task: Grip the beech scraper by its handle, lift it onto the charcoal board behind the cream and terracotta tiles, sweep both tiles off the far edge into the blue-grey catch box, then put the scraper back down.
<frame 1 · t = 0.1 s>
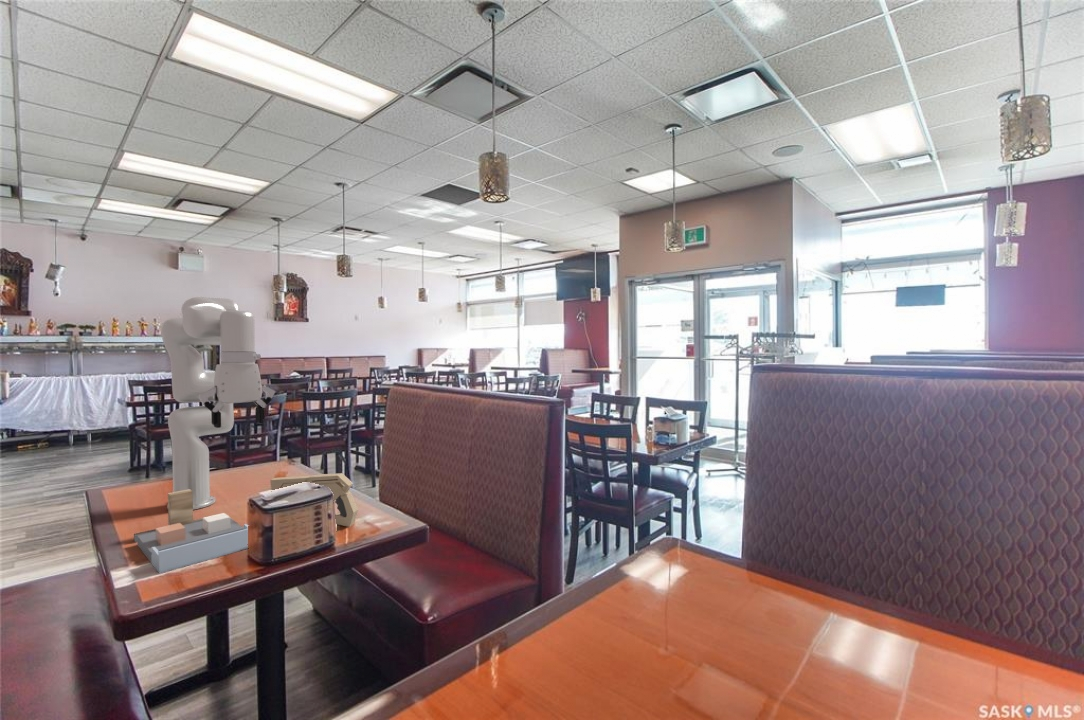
hand: (238, 424, 126), 31 cm above the table, tool pointing down, fingers open, 9 cm apart
gun: (314, 524, 141), on the table
scraper: (181, 531, 135), on the table
board: (192, 541, 128), on the table
tile terracotta: (170, 539, 122), point 2 cm above the table, touching board
tile cream: (216, 528, 130), point 2 cm above the table, touching board
catch box: (206, 554, 120), on the table
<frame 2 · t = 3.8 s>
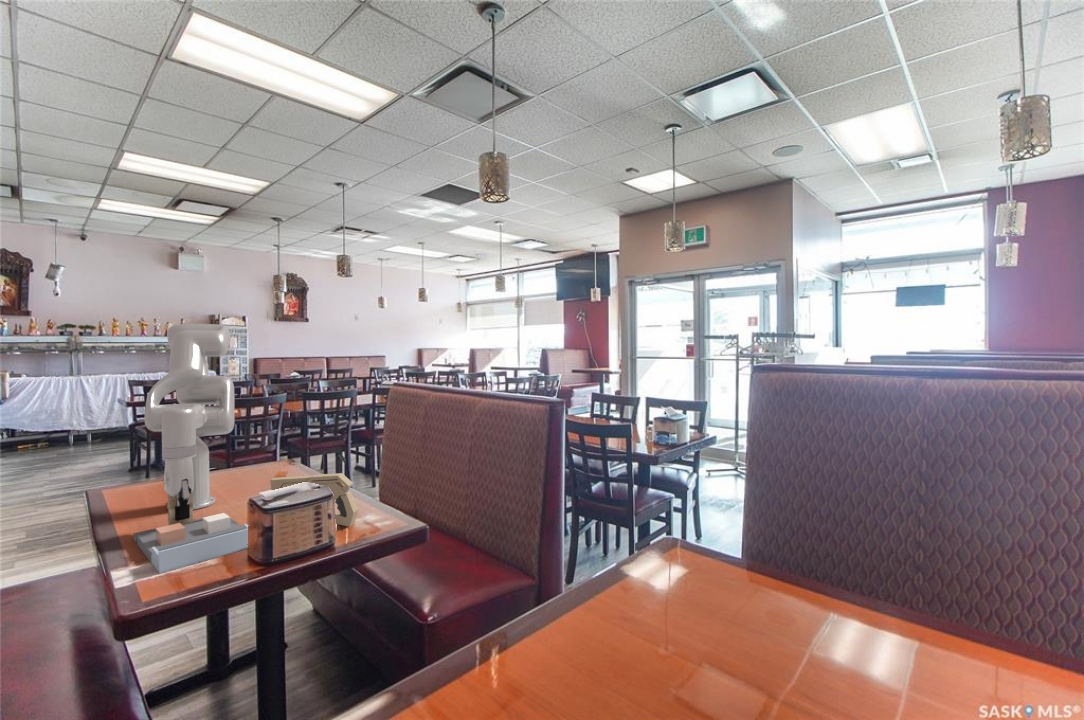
hand: (180, 517, 135), 4 cm above the table, tool pointing down, fingers closed on scraper, 3 cm apart
scraper: (180, 530, 135), on the table, touching gripper
everything else where it was.
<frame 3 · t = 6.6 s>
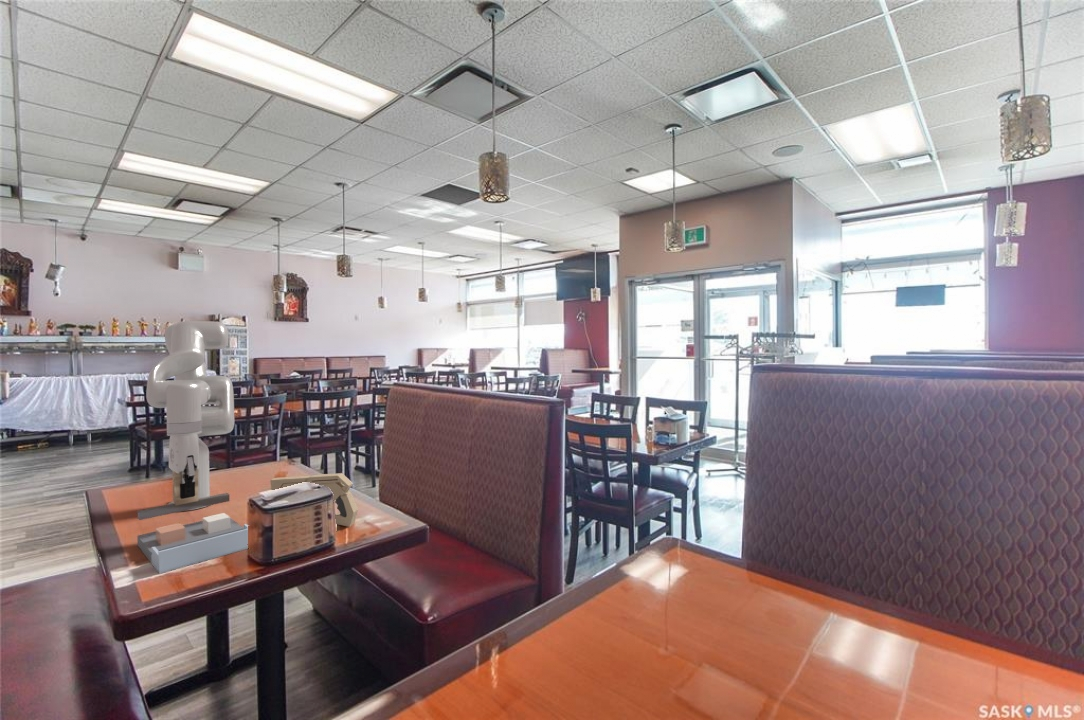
hand: (185, 495, 131), 11 cm above the table, tool pointing down, fingers closed on scraper, 3 cm apart
scraper: (185, 509, 131), point 7 cm above the table, touching gripper
everything else where it was.
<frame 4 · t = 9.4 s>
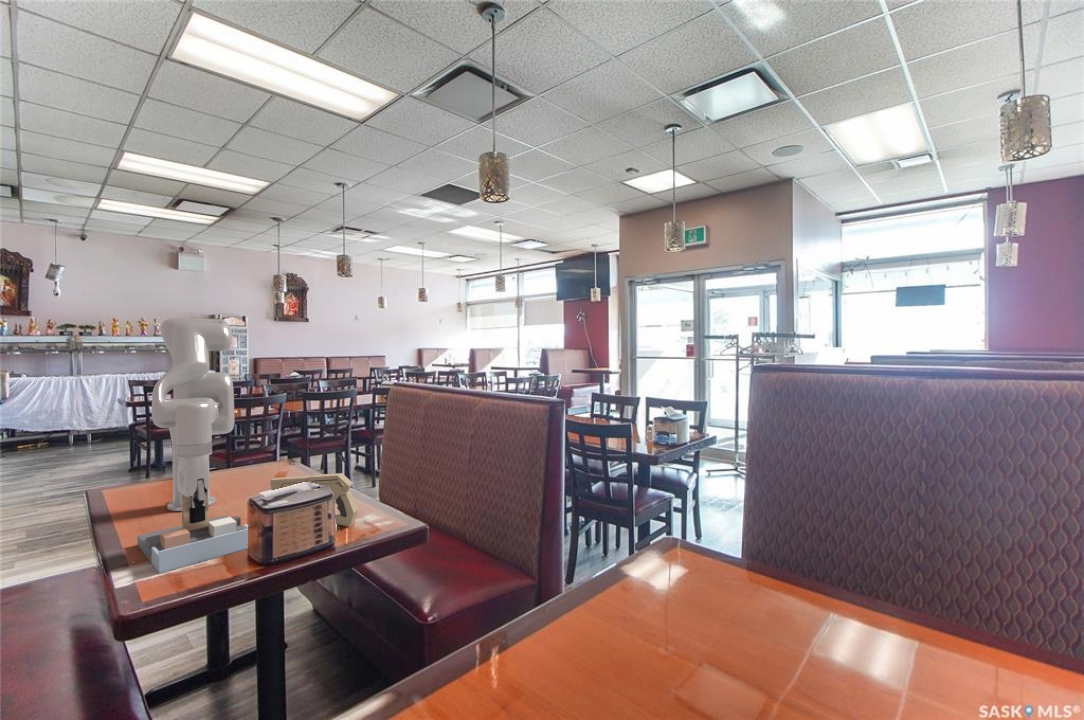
hand: (195, 519, 125), 7 cm above the table, tool pointing down, fingers closed on scraper, 3 cm apart
scraper: (195, 534, 125), point 3 cm above the table, touching gripper, tile cream, tile terracotta
tile terracotta: (175, 545, 119), point 3 cm above the table, touching scraper
tile cream: (222, 533, 127), point 3 cm above the table, touching board, scraper
everything else where it was.
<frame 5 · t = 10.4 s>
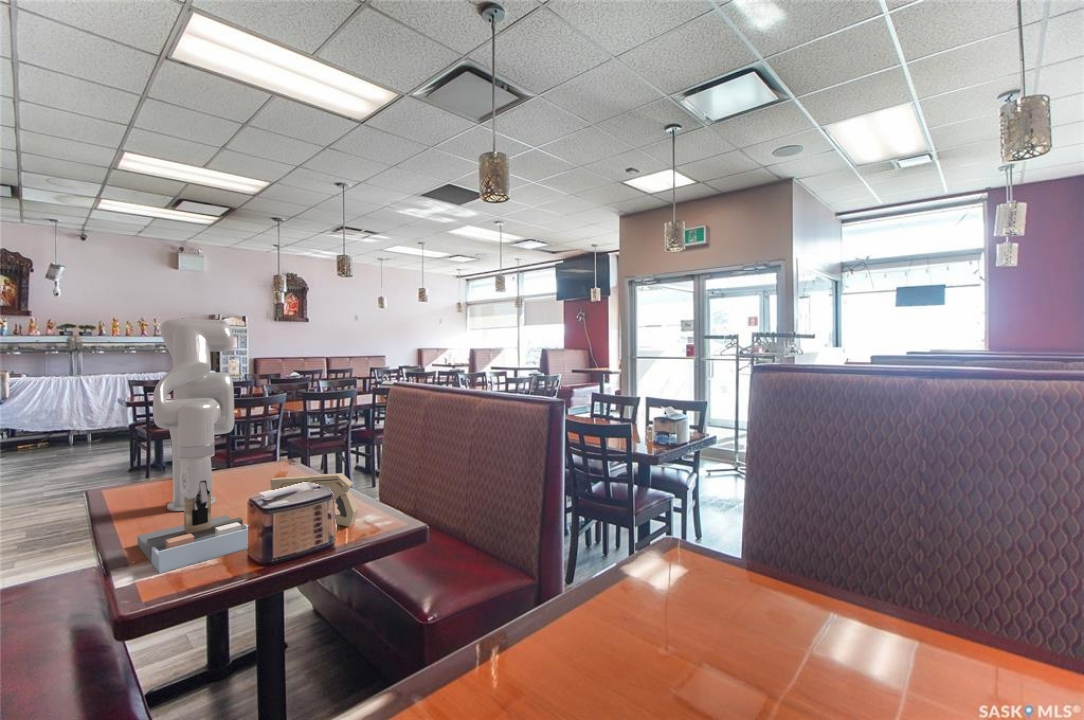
hand: (197, 521, 124), 7 cm above the table, tool pointing down, fingers closed on scraper, 3 cm apart
scraper: (197, 536, 124), point 3 cm above the table, touching board, gripper
tile terracotta: (178, 546, 117), point 3 cm above the table, tilted 90°, touching catch box
tile cream: (226, 534, 125), point 3 cm above the table, tilted 90°, touching catch box
everything else where it was.
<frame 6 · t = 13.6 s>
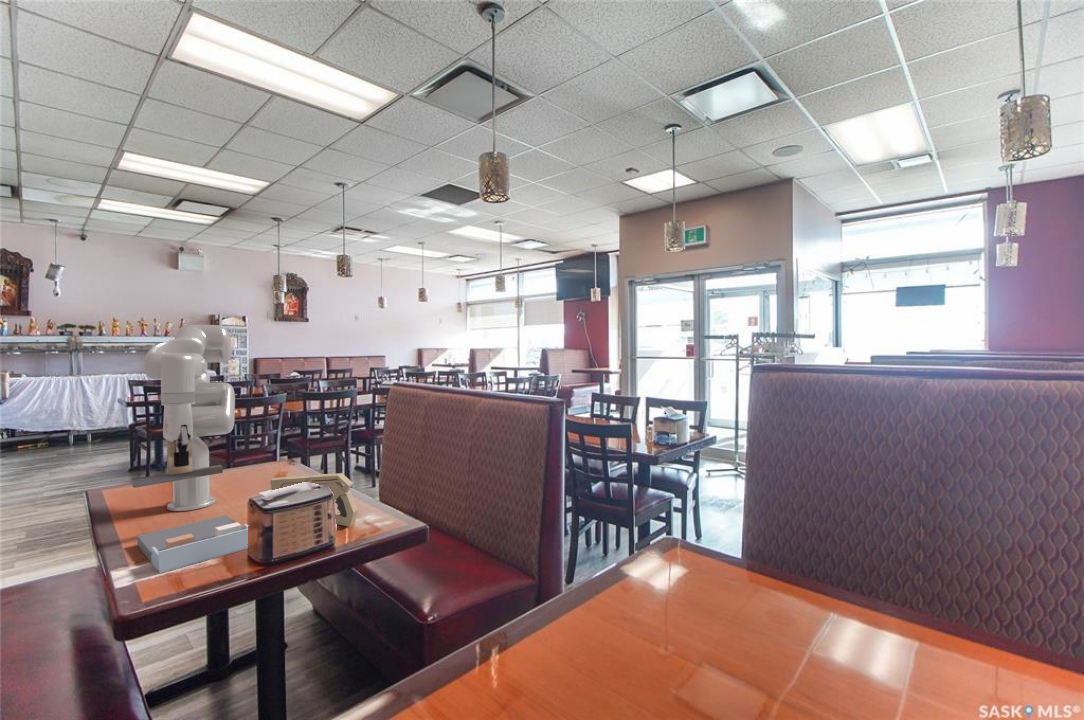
hand: (179, 464, 134), 19 cm above the table, tool pointing down, fingers closed on scraper, 3 cm apart
scraper: (179, 479, 134), point 14 cm above the table, touching gripper
everything else where it was.
when the fingers open (5 cm above the table, at t = 16.2 s): scraper drops 1 cm, on the table.
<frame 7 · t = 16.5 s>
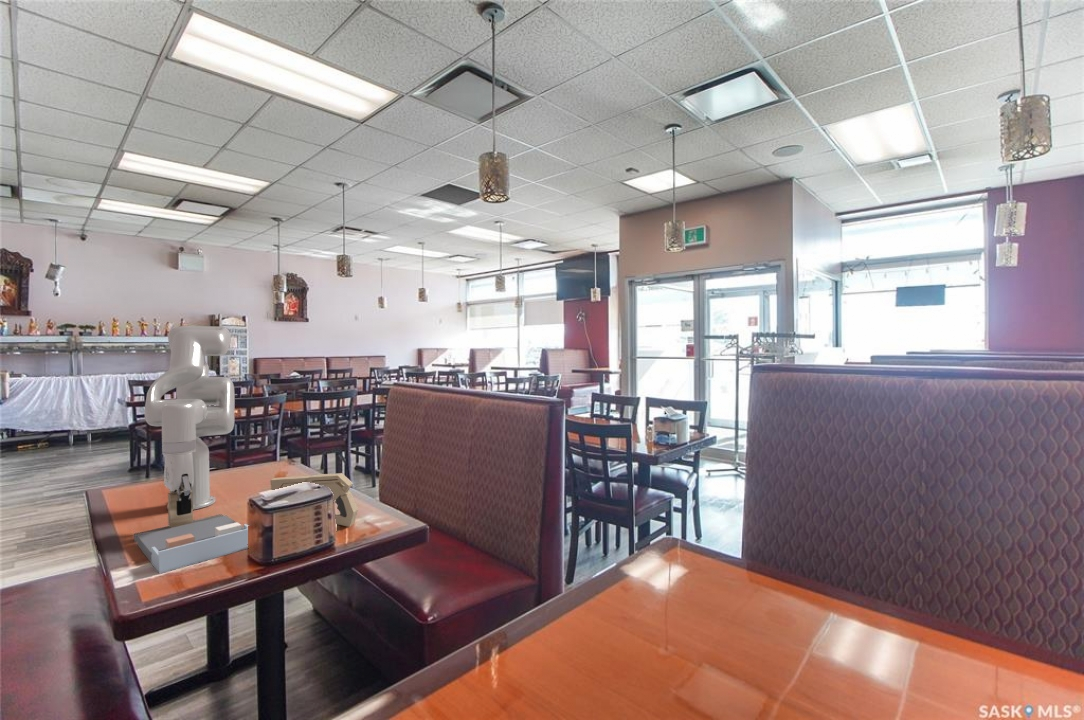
hand: (180, 510, 135), 6 cm above the table, tool pointing down, fingers open, 6 cm apart
scraper: (181, 531, 135), on the table
everything else where it was.
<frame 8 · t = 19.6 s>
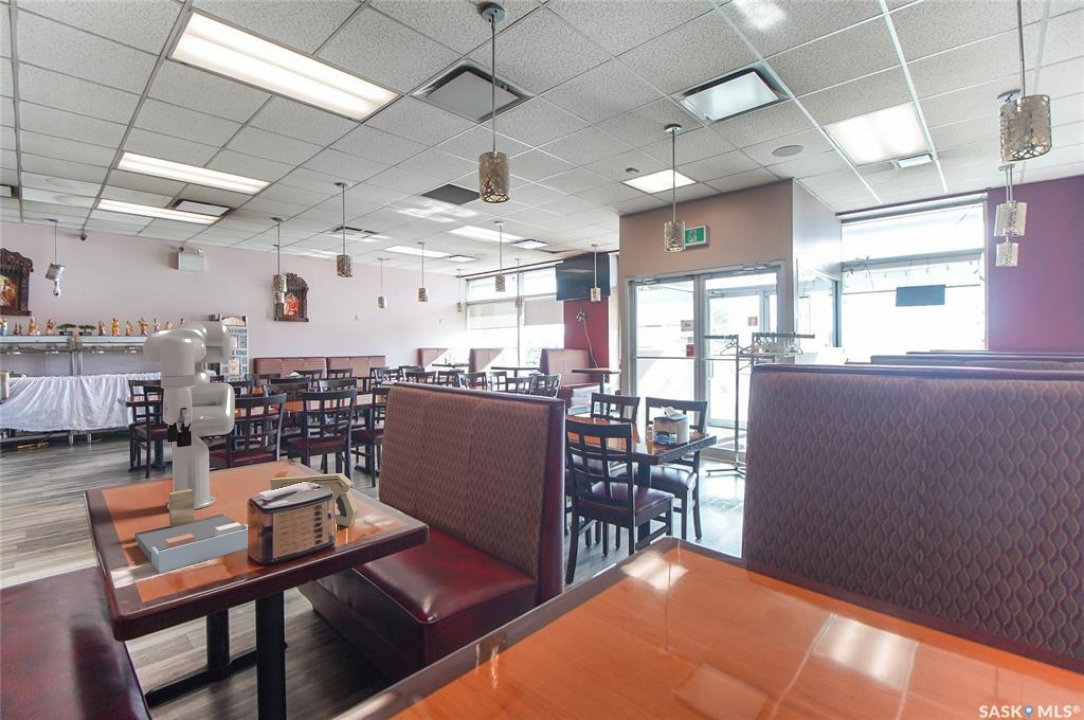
hand: (179, 443, 134), 24 cm above the table, tool pointing down, fingers open, 9 cm apart
nothing on the table moved.
at the end: tile cream inside the target area on the catch box (5.4 cm from its centre), point 3.0 cm above the catch box's base; tile terracotta inside the target area on the catch box (5.5 cm from its centre), point 3.0 cm above the catch box's base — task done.
